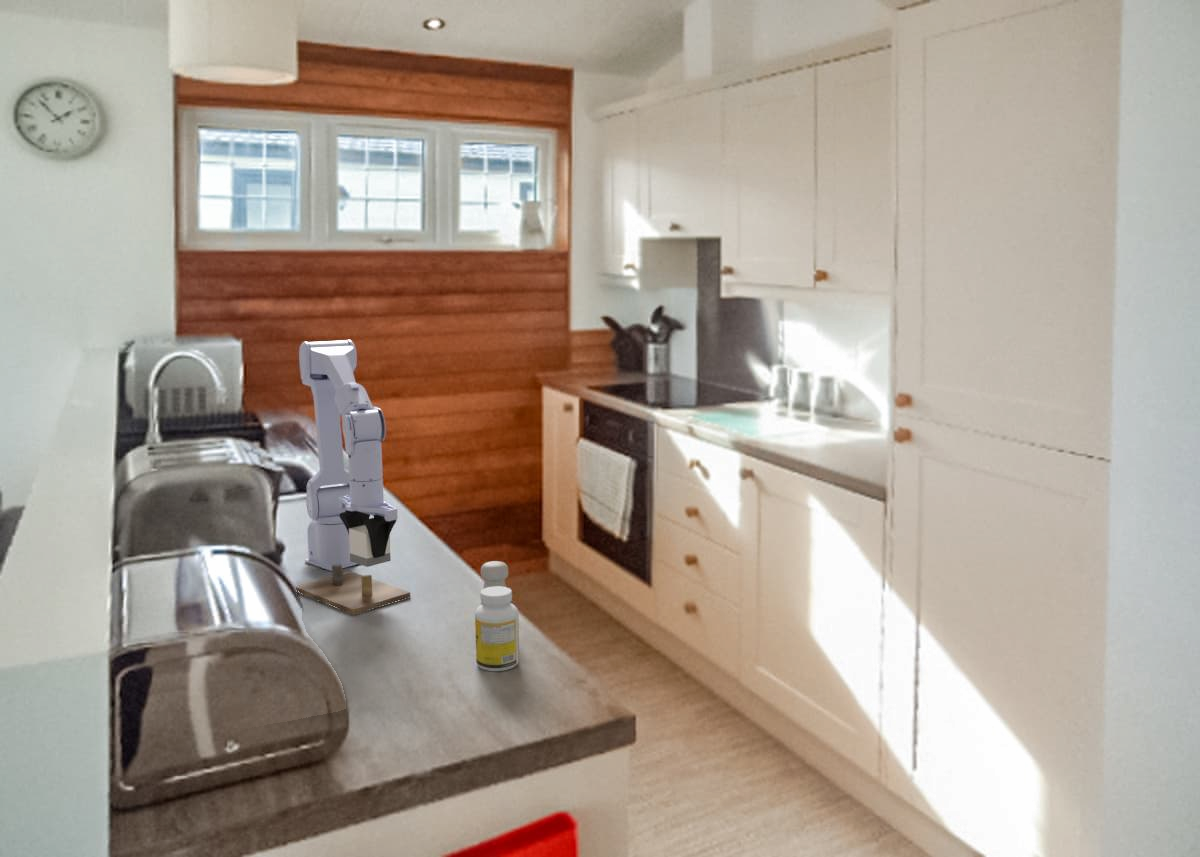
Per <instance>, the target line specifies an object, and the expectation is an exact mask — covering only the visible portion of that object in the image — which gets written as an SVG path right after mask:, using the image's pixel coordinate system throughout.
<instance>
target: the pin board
mask: <svg viewBox="0 0 1200 857" xmlns="http://www.w3.org/2000/svg"><path fill="white" fill-rule="evenodd" d="M331 573H332V576H330V577H325V578H323V579H318V580H315V581H312V582H311V581H310V582H307V583H304V584H301V585H297V586H295V588H296V589H295V591H296V590H297V592H298V591H299V592H300V593H302V594H303V595H302V594H301V595H302V596H304V595H306V596H305V597H307V598H309V597H311V598H310V599H312V598H313V599H312V600H314V599H316V600H315V601H317V600H319V601H321V602H320V603H322V602H324V603H327V604H330V605H332V606H335V607H337V608H339V609H338V610H340V609H341V610H340V611H342V610H344V611H343V612H345V611H346V612H345V613H347V612H349V613H348V614H350V613H351V615H352V614H354V615H353V616H356V615H359V614H358V613H360V612H363V613H365V612H364V611H366V612H368V611H367V610H369V609H372V608H376V607H379V606H382V605H385V604H388V603H392V602H395V601H398V600H401V601H403V600H402V599H405V598H408V597H410V598H411V592H410V591H408V590H404V589H401V588H399V587H396V586H393V585H390V584H388V583H384V582H382V581H379V580H377V579H373V577H372V574H363V575H362V574H359V573H356V572H353V571H348V572H344V573H343V568H342V565H340V564H336V565H332V571H331ZM297 592H296V593H297ZM408 599H409V598H408ZM405 600H406V599H405ZM319 601H318V602H319ZM398 602H399V601H398ZM324 603H323V604H324ZM395 603H396V602H395ZM327 604H326V605H327ZM392 604H393V603H392ZM332 606H331V607H332ZM385 606H386V605H385ZM335 607H334V608H335ZM382 607H383V606H382ZM337 608H336V609H337ZM379 608H380V607H379ZM376 609H377V608H376ZM372 610H373V609H372ZM369 611H370V610H369ZM355 614H356V615H355ZM360 614H361V613H360Z"/></svg>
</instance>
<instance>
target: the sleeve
mask: <svg viewBox="0 0 1200 857" xmlns="http://www.w3.org/2000/svg"><path fill="white" fill-rule="evenodd" d="M349 542H350V561H351V562H354V563H357V565H359V566H360V565H361V566H362V567H363V566H364V567H366V568H369V567H372V566H377V565H380V564H383V563H387V562H391V560H392V559H391V534H390V535H389V539H388V542H387V547H386V552H385V556H381V557H378V558H374V557H373V555H372V551H371V543H370V537H369V533H368V530H367V528H366V526H365V525H362V526H357V527H353V528H349Z"/></svg>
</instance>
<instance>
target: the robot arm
mask: <svg viewBox="0 0 1200 857" xmlns="http://www.w3.org/2000/svg"><path fill="white" fill-rule="evenodd" d="M298 349H299V352H298V362H299V373H300V374H299V375H300V379H301V382H302V385H304V386H308V387H310V390H311V393H312V398H313V406H314V419H315V428H316V431H315V432H316V440H317V441H316V442H317V452H318V462H319V463H318V464H319V470H318V471H317V472H316V473H315V474H314V475H313V476H312V477H311V478H309V480H308V481H307V484H306V495H305V500H306V501H305V502H306V511H307V515H308V517H309V518H310V519H311V521H310V522H309V525H308V527H307V530H306V531H307V533H306V536H307V550H308V558H305V559H304V562H305V563H307V564H311V565H313V566H315V567H316V566H317V567H318V568H321V569H325V570H327V571H330V572H332V565H336V564H340V565H342V569H346V568H349V567H352V566H353V567H354V566H355V565H358V564H357V563H354V562H351V561H350V542H349V528H353V527H357V526H362V525H365V526H366V528H367V530H368V533H369V537H370V543H371V551H372V555H373V557H374V558H378V557H381V556H385V552H386V547H387V542H388V539H389V535H390V536H391V533H392V530H393V529H394V526H395V524H396V522H397V520H398V508H396V507H394V506H392V505H391V504H390V503H388V502H387V501H385V499H384V479H383V478H384V477H383V475H384V473H383V454H382V453H383V450H382V442H384V441H385V440H386V431H387V430H386V429H387V428H386V427H387V426H386V420H385V419H386V418H385V415H384V412H383V410H382V409H381V408H380V407H377V406H376V405H375V406H373V404H372V402H371V399H370V397H369V395H368V392H367V390H366V389H365V387H364V386H363V385H362V384H360V383H357V382H356V378H355V374H354V372H355V369H356V368H357V365H358V364H357V363H358V353H357V348H356V345H355V343H354V341H353V340H351V339H345V340H344V339H343V340H342V339H341V340H327V341H326V340H325V341H324V340H323V341H321V340H320V341H303V342H301V344H300V346H299V348H298ZM341 420H342V424H341ZM342 435H343V436H342ZM342 437H343V438H344V445H345V446H344V448H345V452H346V453H347V455H348V456H347V457H348V458H347V459H348V470H346V469H345V459H344V448H343V438H342ZM341 484H342V485H341ZM343 484H346V485H343ZM332 485H337V486H332ZM325 486H326V487H325ZM328 486H329V487H328ZM370 516H372V517H370Z"/></svg>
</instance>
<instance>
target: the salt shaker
mask: <svg viewBox="0 0 1200 857" xmlns="http://www.w3.org/2000/svg"><path fill="white" fill-rule="evenodd" d="M480 576H481V578H482V579H484V582H483V589H484V588H487V587H493V586H502V587H507V585H506V581H505V579H506V578H508V577H509V567H508V564H506V562H504V561H498V560H493V561H492V560H491V561H487V562H484V563H483V564H482V565H481V567H480ZM480 605H482V602H481V601H480Z"/></svg>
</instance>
